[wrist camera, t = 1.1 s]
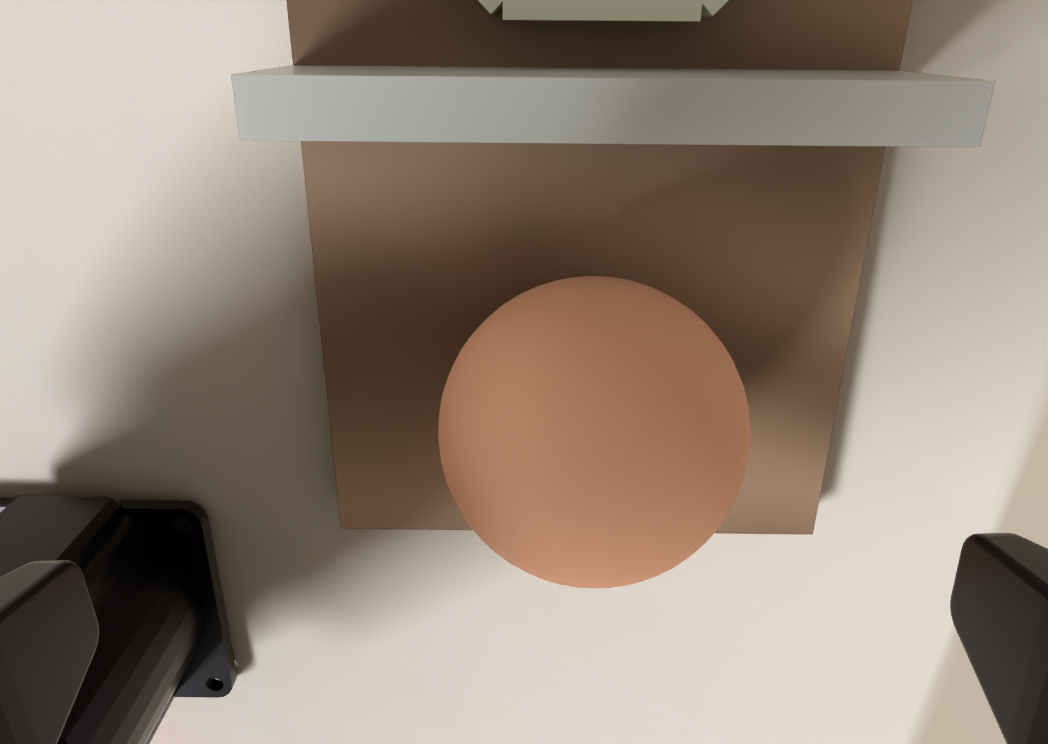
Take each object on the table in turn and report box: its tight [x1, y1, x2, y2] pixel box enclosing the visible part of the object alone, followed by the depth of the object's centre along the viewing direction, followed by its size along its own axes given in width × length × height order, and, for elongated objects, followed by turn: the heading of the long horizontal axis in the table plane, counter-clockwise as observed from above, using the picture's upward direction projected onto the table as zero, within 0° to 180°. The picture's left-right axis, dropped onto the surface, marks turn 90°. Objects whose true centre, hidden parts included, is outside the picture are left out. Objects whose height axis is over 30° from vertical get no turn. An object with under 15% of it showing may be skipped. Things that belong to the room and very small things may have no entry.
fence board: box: [231, 0, 995, 534], centre depth 14 cm, size 22×12×4 cm, turn 0°
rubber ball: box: [438, 276, 751, 588], centre depth 15 cm, size 6×6×6 cm
